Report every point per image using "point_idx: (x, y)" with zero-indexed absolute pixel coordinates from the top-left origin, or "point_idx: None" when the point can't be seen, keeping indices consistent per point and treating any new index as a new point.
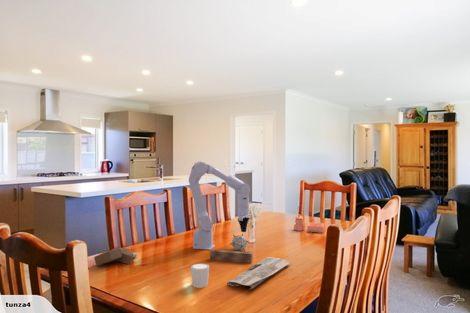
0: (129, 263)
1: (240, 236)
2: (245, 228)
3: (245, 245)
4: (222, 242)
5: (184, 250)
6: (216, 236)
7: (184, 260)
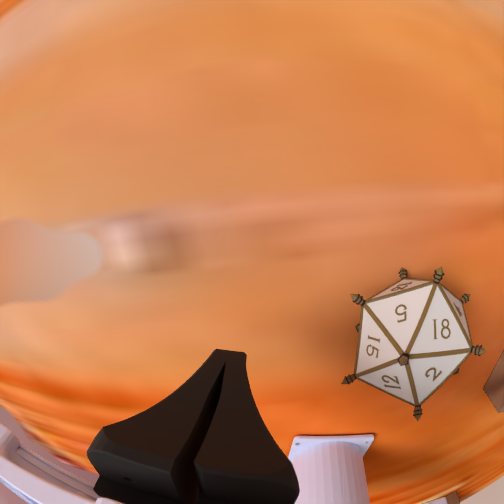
0: (456, 493)
1: (441, 362)
2: (247, 381)
3: (421, 280)
4: None
5: None
6: None
7: (472, 441)
